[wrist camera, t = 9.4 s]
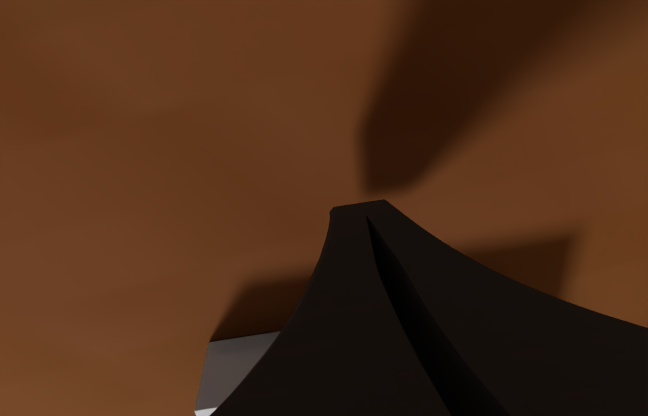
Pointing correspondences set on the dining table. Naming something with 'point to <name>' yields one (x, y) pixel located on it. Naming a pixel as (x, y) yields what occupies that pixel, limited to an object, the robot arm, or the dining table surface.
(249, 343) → the tray
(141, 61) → the dining table surface
